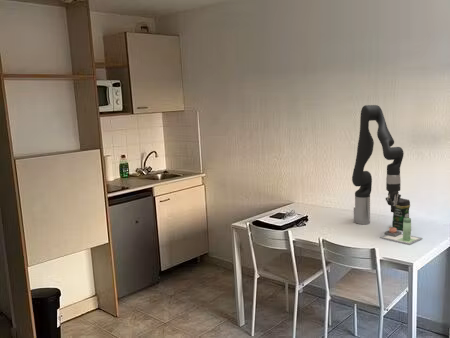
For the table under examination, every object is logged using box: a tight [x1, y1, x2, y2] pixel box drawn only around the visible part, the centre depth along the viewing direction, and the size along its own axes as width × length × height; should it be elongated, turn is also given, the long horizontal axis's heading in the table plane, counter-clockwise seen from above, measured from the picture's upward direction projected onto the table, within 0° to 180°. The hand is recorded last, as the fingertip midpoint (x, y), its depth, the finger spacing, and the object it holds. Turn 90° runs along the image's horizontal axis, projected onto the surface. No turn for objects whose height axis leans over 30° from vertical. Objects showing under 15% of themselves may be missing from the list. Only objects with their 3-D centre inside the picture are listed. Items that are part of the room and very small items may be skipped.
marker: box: [402, 217, 412, 241], centre depth 245 cm, size 4×4×12 cm
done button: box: [388, 226, 398, 233], centre depth 256 cm, size 4×4×2 cm
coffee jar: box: [391, 197, 411, 231], centre depth 268 cm, size 10×8×19 cm
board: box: [379, 230, 423, 246], centre depth 250 cm, size 18×14×2 cm
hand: (393, 212), depth 254 cm, fingers closed
